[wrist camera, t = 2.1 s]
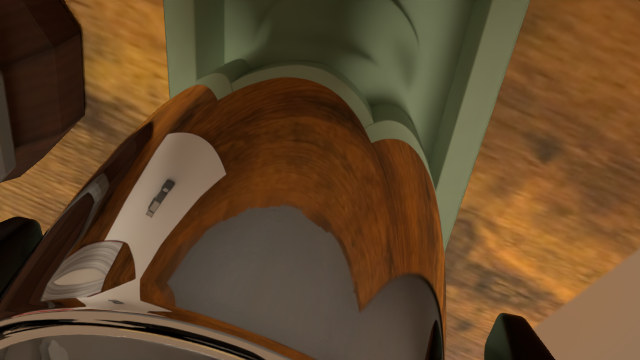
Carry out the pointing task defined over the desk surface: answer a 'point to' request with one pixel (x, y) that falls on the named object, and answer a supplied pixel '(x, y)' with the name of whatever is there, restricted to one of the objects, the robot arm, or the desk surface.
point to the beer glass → (255, 213)
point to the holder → (433, 83)
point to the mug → (36, 81)
